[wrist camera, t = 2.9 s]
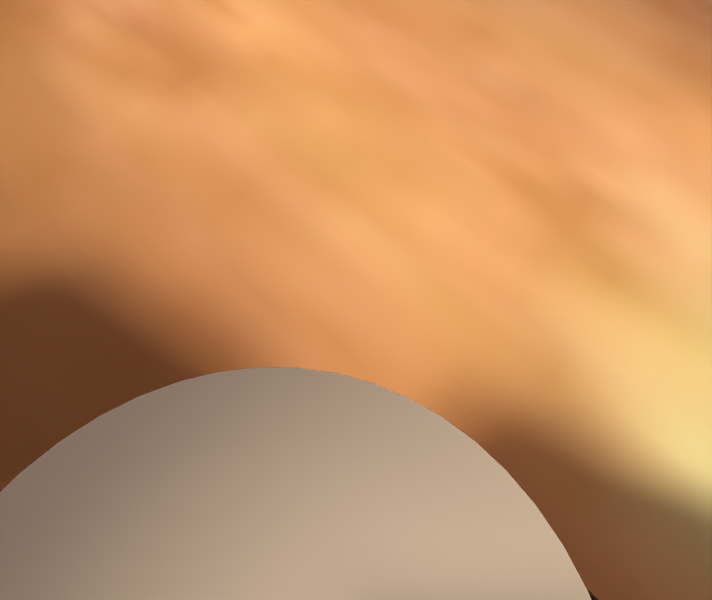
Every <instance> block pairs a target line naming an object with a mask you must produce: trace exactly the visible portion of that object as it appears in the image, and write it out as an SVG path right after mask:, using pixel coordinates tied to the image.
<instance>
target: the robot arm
mask: <svg viewBox="0 0 712 600" xmlns="http://www.w3.org/2000/svg"><path fill="white" fill-rule="evenodd" d="M586 589H587V588H586ZM587 590H588V589H587ZM588 593H589V595H590V597H591V600H599V599H598V598H596V597H595V596H594V595H593V594H592V593H591V592H590V591H589V590H588Z"/></svg>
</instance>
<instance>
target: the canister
mask: <svg viewBox="0 0 712 600" xmlns="http://www.w3.org/2000/svg"><path fill="white" fill-rule="evenodd" d="M0 600H591V597H590V595H589V593H588V590H587V589H586V587H585V585H584V583H583V581H582V579H581V577H580V576H579V574H578V572H577V570H576V568H575V566H574V564H573V563H572V561H571V559H570V557H569V555H568V553H567V551H566V550H565V548H564V546H563V544H562V543H561V541H560V540H559V538H558V537H557V535H556V534H555V532H554V531H553V530H552V528H551V527H550V525H549V524H548V522H547V521H546V519H545V518H544V516H543V515H542V513H541V512H540V510H539V509H538V507H537V506H536V505H535V503H534V502H533V501H532V500H531V499H530V498H529V496H528V495H527V494H526V493H525V492H524V491H523V489H522V488H521V487H520V486H519V485H518V484H517V482H516V481H515V480H514V479H513V478H512V477H511V475H510V474H509V473H508V472H507V471H506V470H505V469H504V468H503V467H502V466H501V465H500V464H499V463H498V462H497V461H496V460H495V459H494V458H492V457H491V456H490V455H489V454H488V453H487V452H486V451H485V450H484V449H483V448H482V447H481V446H480V445H479V444H477V443H476V442H475V441H474V440H473V439H471V438H470V437H469V436H467V435H466V434H465V433H463V432H462V431H460V430H459V429H458V428H456V427H455V426H454V425H452V424H451V423H450V422H448V421H447V420H446V419H444V418H443V417H441V416H440V415H438V414H436V413H434V412H432V411H431V410H429V409H427V408H425V407H424V406H422V405H420V404H418V403H416V402H415V401H413V400H411V399H409V398H408V397H405V396H403V395H400V394H398V393H396V392H393V391H391V390H388V389H386V388H383V387H381V386H378V385H376V384H374V383H371V382H367V381H363V380H360V379H356V378H352V377H349V376H345V375H341V374H337V373H333V372H325V371H318V370H311V369H303V368H282V367H256V368H248V369H239V370H230V371H222V372H216V373H212V374H208V375H204V376H199V377H195V378H191V379H187V380H183V381H179V382H176V383H173V384H171V385H168V386H165V387H163V388H160V389H157V390H154V391H152V392H149V393H146V394H143V395H141V396H138V397H136V398H134V399H132V400H130V401H128V402H126V403H124V404H122V405H120V406H118V407H116V408H114V409H112V410H110V411H108V412H106V413H104V414H102V415H100V416H98V417H97V418H95V419H94V420H92V421H91V422H89V423H88V424H86V425H84V426H83V427H81V428H80V429H78V430H77V431H75V432H73V433H72V434H70V435H69V436H67V437H66V438H64V439H63V440H61V441H59V442H58V443H57V444H56V445H54V446H53V447H52V448H51V449H49V450H48V451H47V452H46V453H44V454H43V455H42V456H41V457H39V458H38V459H37V460H35V461H34V462H33V463H32V464H30V465H29V466H28V467H27V468H25V469H24V470H23V471H22V472H20V473H19V474H18V475H17V476H16V477H15V478H14V479H13V480H12V481H11V482H10V483H9V484H8V485H7V486H6V487H5V488H4V489H3V490H2V491H1V492H0Z"/></svg>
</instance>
